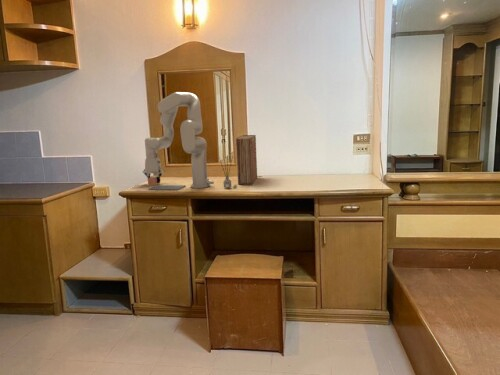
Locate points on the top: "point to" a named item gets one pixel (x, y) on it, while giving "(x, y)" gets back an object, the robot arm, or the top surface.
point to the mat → (167, 187)
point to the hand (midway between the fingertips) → (154, 182)
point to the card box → (152, 180)
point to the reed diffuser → (227, 177)
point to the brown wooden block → (246, 159)
